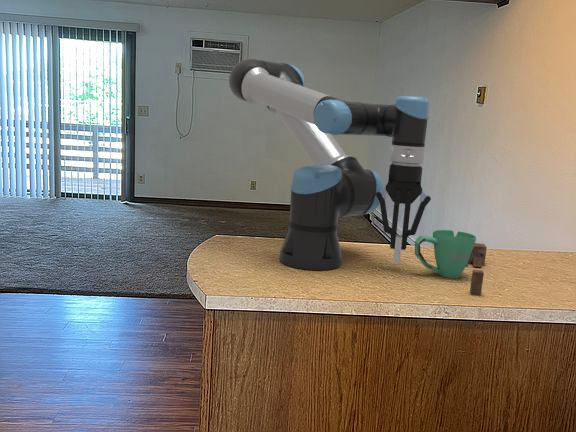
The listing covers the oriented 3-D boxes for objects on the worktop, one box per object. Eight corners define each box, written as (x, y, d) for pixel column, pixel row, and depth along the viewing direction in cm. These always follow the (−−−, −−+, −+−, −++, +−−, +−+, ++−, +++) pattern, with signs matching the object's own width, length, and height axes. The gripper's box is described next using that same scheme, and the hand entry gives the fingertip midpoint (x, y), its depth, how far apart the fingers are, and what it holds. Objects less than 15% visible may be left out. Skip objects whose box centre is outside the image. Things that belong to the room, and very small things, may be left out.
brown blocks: (471, 294, 120) (473, 271, 119) (456, 259, 151) (458, 240, 150) (503, 298, 119) (506, 275, 118) (482, 261, 149) (484, 243, 148)
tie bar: (473, 266, 143) (474, 257, 142) (462, 244, 168) (463, 236, 168) (481, 267, 143) (482, 258, 142) (469, 245, 168) (470, 237, 167)
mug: (457, 269, 140) (462, 230, 138) (479, 281, 131) (484, 239, 129) (402, 269, 137) (407, 229, 135) (421, 281, 127) (426, 238, 125)
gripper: (377, 163, 128) (368, 263, 133) (436, 167, 126) (424, 269, 130) (378, 160, 136) (369, 255, 140) (434, 165, 133) (423, 261, 138)
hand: (396, 262), depth 135 cm, fingers closed
